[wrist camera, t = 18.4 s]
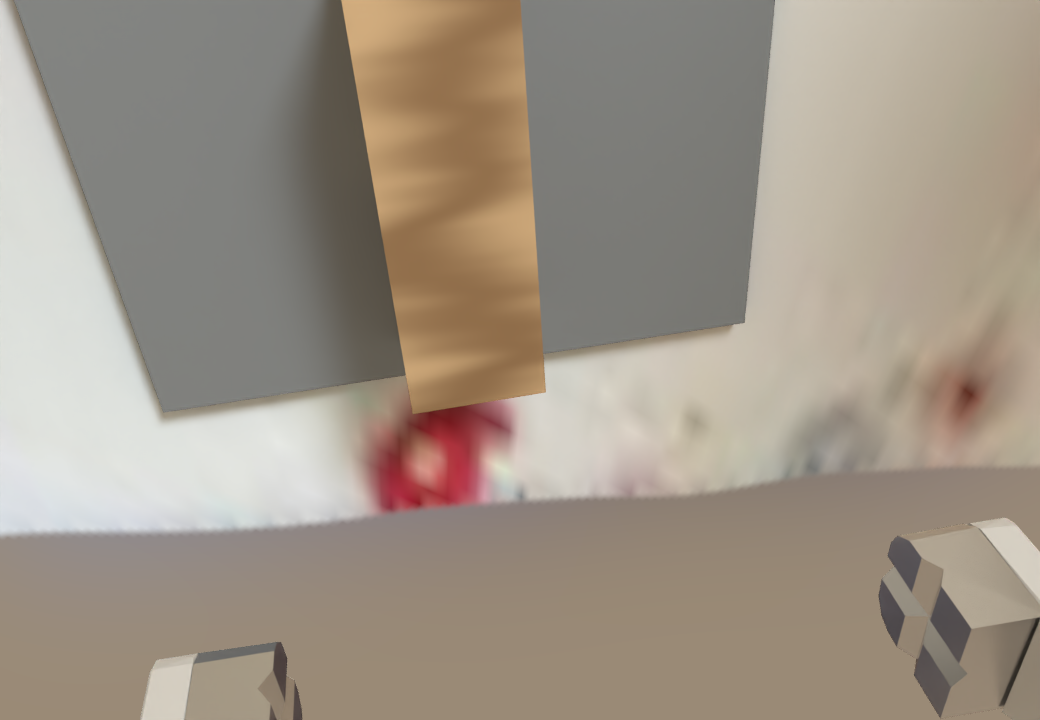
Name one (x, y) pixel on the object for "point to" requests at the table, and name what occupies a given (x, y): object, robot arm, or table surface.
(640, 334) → the slate mat
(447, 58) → the oak post
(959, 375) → the table surface
